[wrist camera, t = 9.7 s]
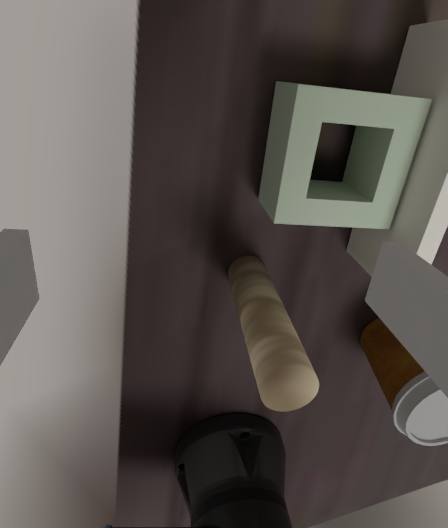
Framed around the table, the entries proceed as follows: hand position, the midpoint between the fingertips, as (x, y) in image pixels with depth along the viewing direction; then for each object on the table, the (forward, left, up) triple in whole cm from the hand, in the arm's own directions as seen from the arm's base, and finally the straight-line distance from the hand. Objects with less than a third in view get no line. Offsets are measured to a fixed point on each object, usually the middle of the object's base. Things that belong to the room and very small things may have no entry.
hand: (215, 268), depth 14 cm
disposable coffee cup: (+8, -31, -21) cm, 38 cm away
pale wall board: (+15, -9, -21) cm, 27 cm away
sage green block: (+10, -6, -21) cm, 24 cm away
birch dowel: (-2, -13, -21) cm, 25 cm away
